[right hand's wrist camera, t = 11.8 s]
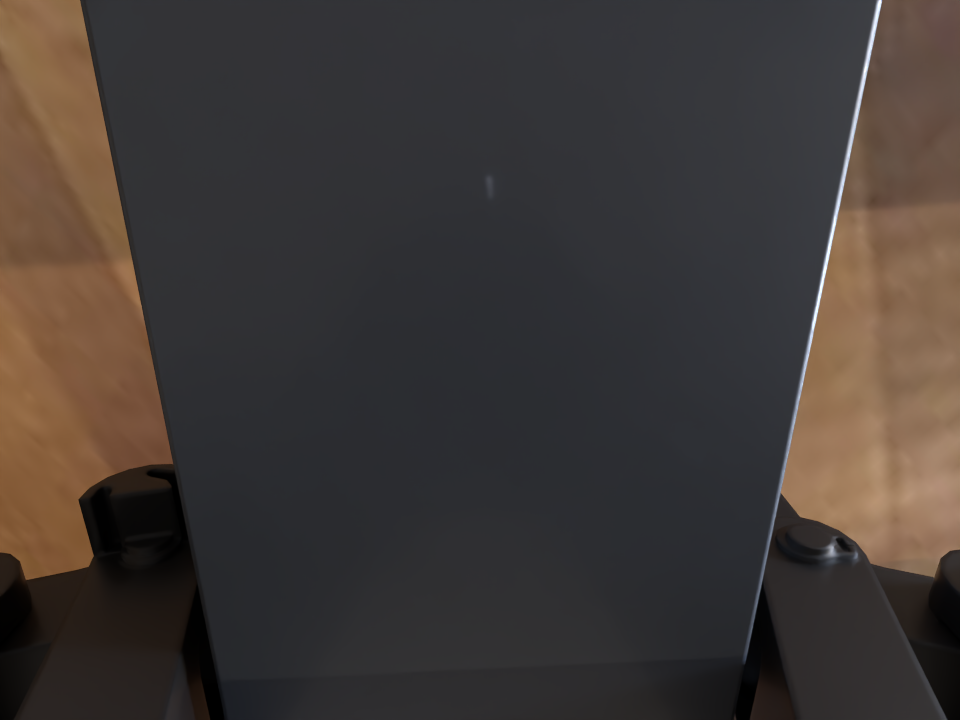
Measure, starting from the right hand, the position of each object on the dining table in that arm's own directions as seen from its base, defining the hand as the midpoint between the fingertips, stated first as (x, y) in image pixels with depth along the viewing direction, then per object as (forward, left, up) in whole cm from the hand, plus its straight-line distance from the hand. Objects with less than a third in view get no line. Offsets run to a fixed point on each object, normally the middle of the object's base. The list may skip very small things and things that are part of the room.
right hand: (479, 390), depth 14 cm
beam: (0, -8, 0) cm, 8 cm away
